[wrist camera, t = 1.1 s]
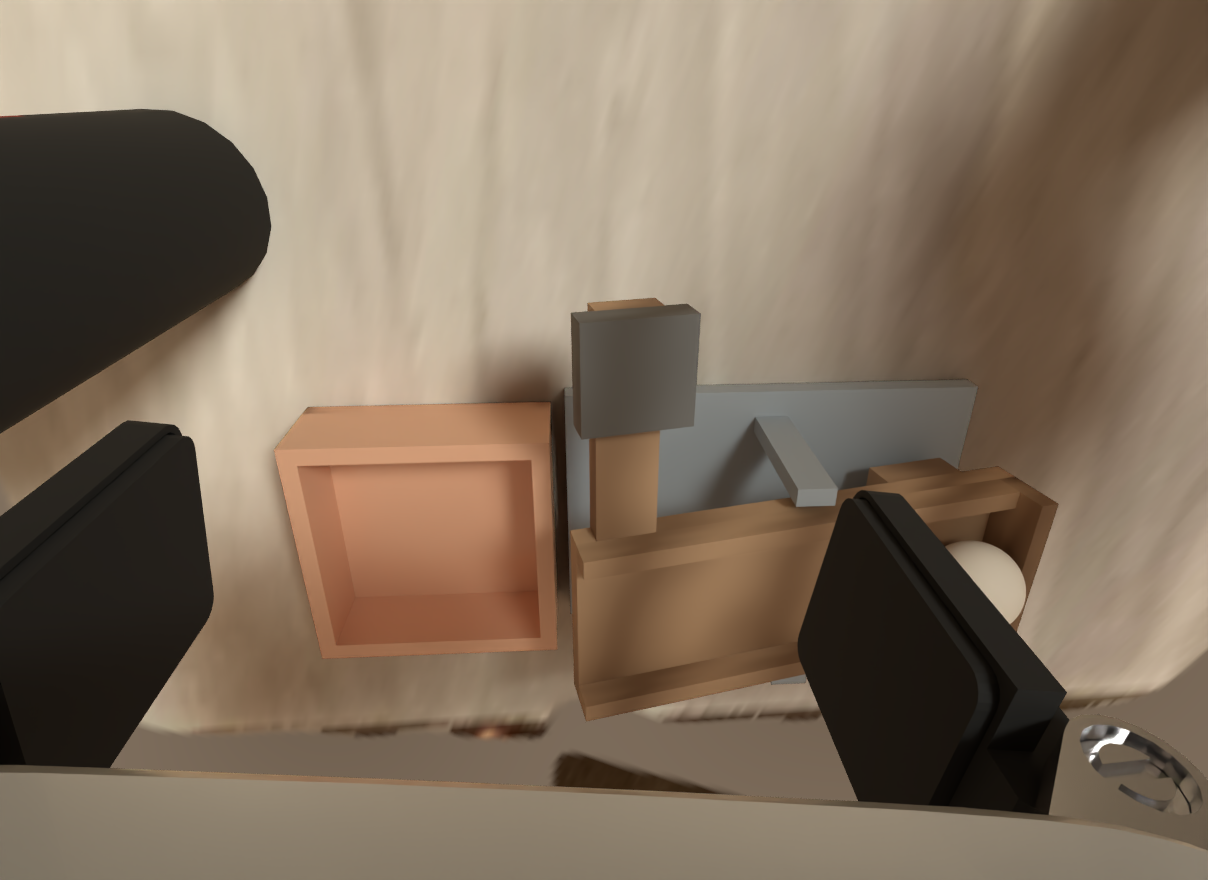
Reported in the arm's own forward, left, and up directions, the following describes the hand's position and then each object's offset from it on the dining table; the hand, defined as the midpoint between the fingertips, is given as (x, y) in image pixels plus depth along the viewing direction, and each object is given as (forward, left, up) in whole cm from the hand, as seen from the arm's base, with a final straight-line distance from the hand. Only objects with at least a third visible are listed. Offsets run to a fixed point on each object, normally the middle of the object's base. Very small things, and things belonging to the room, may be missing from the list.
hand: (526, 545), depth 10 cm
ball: (-18, +14, -15) cm, 27 cm away
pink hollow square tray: (+6, +14, -23) cm, 28 cm away
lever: (-10, +9, -20) cm, 24 cm away
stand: (-10, +14, -23) cm, 29 cm away
